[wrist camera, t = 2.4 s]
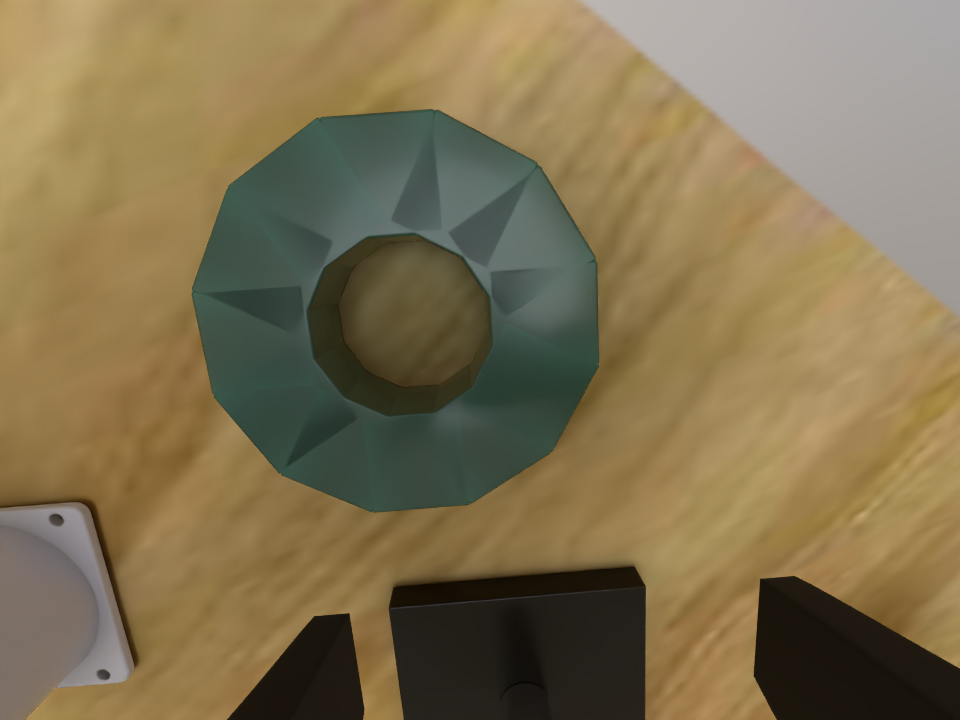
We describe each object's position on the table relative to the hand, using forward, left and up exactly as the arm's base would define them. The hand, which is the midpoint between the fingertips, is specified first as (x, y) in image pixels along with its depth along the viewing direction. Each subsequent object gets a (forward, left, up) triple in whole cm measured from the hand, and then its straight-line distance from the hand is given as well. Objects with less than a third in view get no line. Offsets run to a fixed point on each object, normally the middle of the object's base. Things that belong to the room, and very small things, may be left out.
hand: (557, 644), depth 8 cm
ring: (-3, +5, -10) cm, 11 cm away
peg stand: (0, -11, -10) cm, 15 cm away
